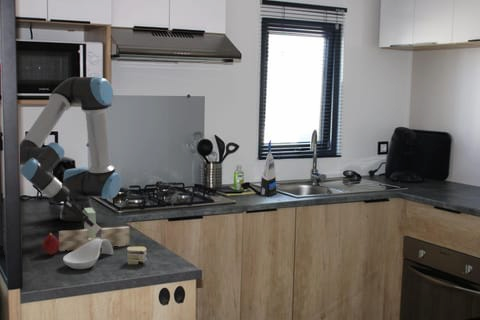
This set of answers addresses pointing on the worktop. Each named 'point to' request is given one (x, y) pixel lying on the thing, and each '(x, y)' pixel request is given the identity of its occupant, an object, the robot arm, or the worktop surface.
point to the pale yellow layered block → (136, 255)
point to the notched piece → (92, 215)
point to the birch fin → (80, 238)
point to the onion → (51, 244)
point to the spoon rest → (87, 254)
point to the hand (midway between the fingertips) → (95, 226)
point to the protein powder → (268, 176)
